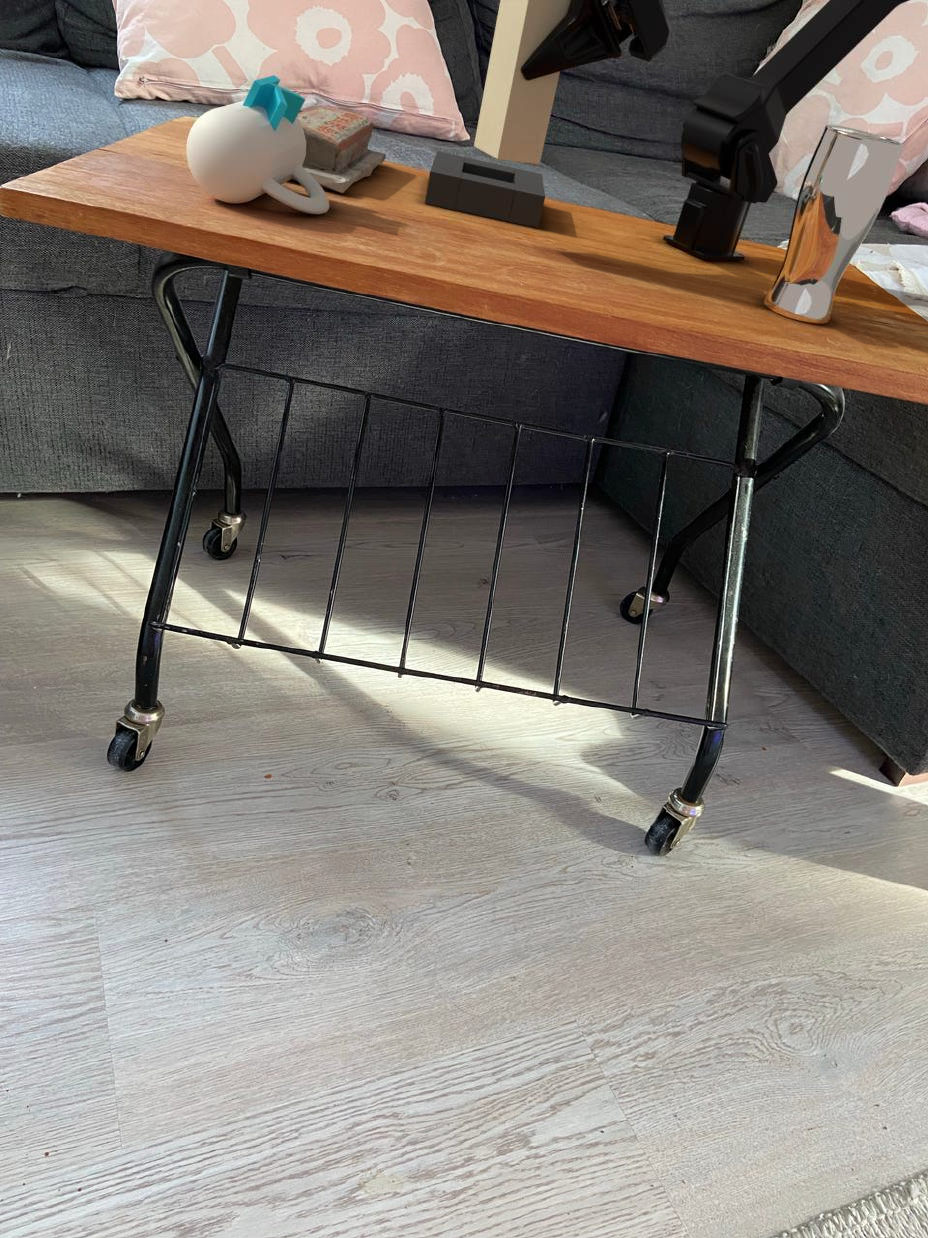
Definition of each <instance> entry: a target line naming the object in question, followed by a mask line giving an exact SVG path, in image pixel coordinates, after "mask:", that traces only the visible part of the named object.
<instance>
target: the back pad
mask: <svg viewBox="0 0 928 1238" xmlns="http://www.w3.org/2000/svg"><path fill="white" fill-rule="evenodd" d="M570 1H571V0H499V7H498V12H497V16H496V17H497V18H496V23H495V28H494V32H493V33H494V34H493V39H492V45H491V50H490V56H489V62H488V67H487V72H486V78H485V83H484V89H483V94H482V100H481V105H480V111H479V115H478V121H477V127H476V132H475V138H474V143H473V147H474V148H476V149H478V150H480V151H481V152H483V153H485V154H487V155H488V156H490V157H492V158H493V159H496V160H498V161H499V160H500V161H506V162H507V161H508V162H516V163H527V164H534V165H540V164H541V161H542V156H543V151H544V147H545V141H546V137H547V133H548V128H549V124H550V120H551V115H552V111H553V105H554V101H555V95H556V92H557V87H558V83H559V78H560V74H561V71H560V72H556V73H553V74H550V75H546V76H543V77H539V78H536V79H533V80H529V81H527V80H525V79H524V77H523V75H522V73H521V67H522V66H523V65H524V63H525V62H526V61H527V59H528V58H529V57H530V56H531V54H532V53H533V52H534V51H535V50H536V48H537V47H538V46H539V45H540V44H541V43H542V42H543V40H544V39H545V38H546V37H547V36H548V35H549V34H550V33H551V31H552V30H553V29H554V28H555V27H556V26H557V25H558V24H559V22H560V21H561V20H562V19H563V18H564V17H565V16H566V14H567V12H568V9H569V5H570Z"/></svg>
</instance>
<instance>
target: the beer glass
mask: <svg viewBox="0 0 928 1238" xmlns="http://www.w3.org/2000/svg"><path fill="white" fill-rule="evenodd" d="M904 147H905V145H904V144H903V143H902V142H900V141H898V140H895V139H891V138H889V137H885V136H883V135H878V134H875V133H872V132H867V131H864V130H860V129H856V128H851V127H846V126H842V125H836V124H826V125H825V127H824V130H823V132H822V135H821V136H820V139H819V140H818V143H817V146H816V147H815V150H814V152H813V154H812V156H811V158H810V162H809V164H808V166H807V169H806V172H805V174H804V176H803V179H802V182H801V185H800V189H799V192H798V194H797V195H798V196H797V199H796V203H795V206H794V207H795V208H794V212H793V217H792V220H791V226H790V231H789V237H788V242H787V246H786V251H785V255H784V259H783V260H782V261H783V262H782V265H781V267H780V270H779V271H778V274H777V276H776V278H775V280H774V281H773V283H772V285H771V287H770V289H769V290H768V292H767V293H766V296H765V298H764V299H763V303H764V306H765V307H766V308H768V309H769V310H771V311H772V312H774V313H776V314H778V315H781V316H783V317H786V318H788V319H792V320H796V321H798V322H804V323H808V324H815V325H816V324H817V325H822V324H827V323H828V322H829V321H830V319H831V316H832V311H833V307H834V301H835V297H836V294H837V290H838V288H839V284H840V282H841V280H842V279H843V276H844V274H845V272H846V270H847V268H848V266H849V265H850V263H851V261H852V259H854V256H855V255H856V254H857V252H858V250H859V249H860V247H861V245H862V244H863V241H864V240H865V238H866V237H867V236H868V233H869V231H870V230H871V228H872V226H873V225H874V222H875V221H876V220H877V217H878V215H879V213H880V212H881V209H882V206H883V205H884V203H885V200H886V197H887V195H888V192H889V189H890V186H891V185H892V182H893V178H894V175H895V173H896V169H897V167H898V163H899V160H900V157H901V155H902V151H903V149H904Z"/></svg>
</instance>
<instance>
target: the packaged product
mask: <svg viewBox="0 0 928 1238" xmlns="http://www.w3.org/2000/svg"><path fill="white" fill-rule="evenodd" d="M297 118H298V120H299V121H300V123H301V125H302V127H303V130H304V134H305V139H306V156H305V159H304V162H303V165H302V167H303V168H304V169H305V170H306V171H307V172H308V173H309V174H310V175H311V176H312V177H313V178H314V179H315V180H316V181H317V182H318V183H319V185H320V186H321V187H322V189H327V190H331V191H334V192H338V193H341V194H344V193H345V192H346V190H348V188H350V187H351V185H352V184H354V183H356V182H358V181H360V180H361V179H363V178H366V177H371V175H372V172H373V170H374V169H375V168H376V167H378V166H379V165H381V164H382V163H384V162H385V160H386V158H387V154H386V153H384V152H379V151H376V150H371V149H370V148H369V143H370V140H371V138H372V135H373V130H374V122H373V121H372V120H371V119H369V118H368V117H367V116H365V115H364V114H362V113H359V112H354V111H350V110H346V109H341V108H337V107H334V106H329V105H320V104H319V105H315V106H313V107H311V108H308V109H306V110H303V111H299V113H298V115H297ZM291 180H292V181H295V182H297V181H296V180H295V179H294V178H292V179H290V181H291Z"/></svg>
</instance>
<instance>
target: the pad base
mask: <svg viewBox="0 0 928 1238" xmlns="http://www.w3.org/2000/svg"><path fill="white" fill-rule="evenodd" d="M543 179H544V178H543V174H542V173H538V172H534V171H531V170H525V169H521V168H520V169H519V168H516V167H511V166H507V165H502V164H498V163H493V162H488V161H484V160H480V159H476V158H470V157H467V156H462V155H457V154H454V153H448V152H444V151H440V150H437V151H436V153H435V156H434V159H433V162H432V164H431V168H430V171H429V176H428V180H427V181H428V182H427V187H426V193H425V200H424V205H425V204H426V205H430V206H435V207H439V208H443V209H448V210H454V211H457V212H462V213H466V214H471V215H476V216H480V217H484V218H489V219H494V220H498V221H502V222H503V221H504V222H508V223H513V224H517V225H522V226H525V227H526V226H527V227H531V228H535V229H539V226H540V221H541V217H542V214H543V213H542V212H543V209H544V205H545V199H546V193H545V185H544V180H543Z"/></svg>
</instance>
